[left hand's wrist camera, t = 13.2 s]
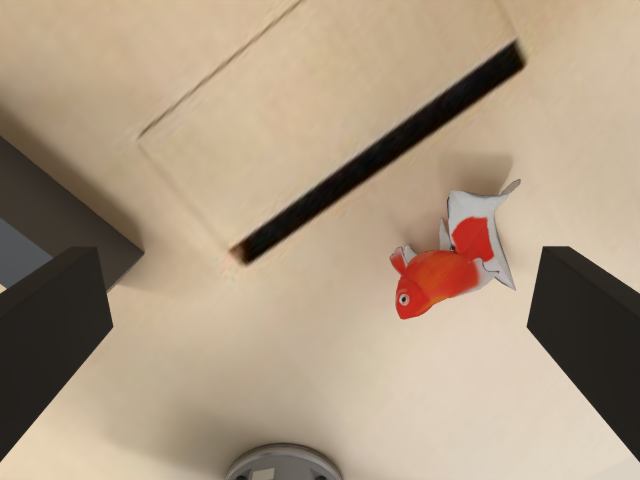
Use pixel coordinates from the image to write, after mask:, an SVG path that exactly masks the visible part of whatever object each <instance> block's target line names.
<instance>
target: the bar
mask: <svg viewBox="0 0 640 480" xmlns="http://www.w3.org/2000/svg"><path fill="white" fill-rule="evenodd" d="M71 246H97V249H98V254H99V259H100V264H101V268H102V273H103V278H104V283H105V288H106V293H108V292H109V291H110V290H111V289H112V288H113V287H114V286H115V285H116V284H117V283H118V282H119V281H120V280H121V279H122V278H123V277H124V275H125V274H126V273H127V272H128V271H129V270H130V269H131V268H132V267H133V266H134V265H135V264H136V263H137V262H138V260H139V259H140V258H141V257H142V256H143V255H144V252H142V251H141V250H140V249H139V248H137V247H136V246H135V245H134V244H133V243H131V242H130V241H129V240H128V239H126V238H125V237H124V236H123V235H121V234H120V233H119V232H118V231H116V230H115V229H114V228H113V227H112V226H110V225H109V224H108V223H107V222H105V221H104V220H103V219H102V218H100V217H99V216H98V215H97V214H96V213H94V212H93V211H92V210H91V209H89V208H88V207H87V206H86V205H84V204H83V203H82V202H81V201H80V200H78V199H77V198H76V197H75V196H73V195H72V194H71V193H70V192H68V191H67V190H66V189H65V188H64V187H62V186H61V185H60V184H59V183H57V182H56V181H55V180H54V179H52V178H51V177H50V176H49V175H48V174H46V173H45V172H44V171H43V170H41V169H40V168H39V167H38V166H36V165H35V164H34V163H33V162H32V161H30V160H29V159H28V158H27V157H25V156H24V155H23V154H22V153H20V152H19V151H18V150H17V149H16V148H14V147H13V146H12V145H11V144H9V143H8V142H7V141H6V140H4V139H3V138H2V137H1V136H0V284H1V285H3V286H4V287H5V288H7V289H8V288H9V287H11V286H12V285H14V284H15V283H17V282H18V281H20V280H21V279H23V278H24V277H26V276H27V275H29V274H30V273H32V272H33V271H35V270H36V269H38V268H39V267H41V266H42V265H44V264H45V263H47V262H48V261H50V260H51V259H53V258H54V257H56V256H57V255H59V254H60V253H62V252H63V251H65V250H66V249H68V248H69V247H71Z"/></svg>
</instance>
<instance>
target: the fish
mask: <svg viewBox="0 0 640 480" xmlns="http://www.w3.org/2000/svg"><path fill="white" fill-rule="evenodd" d="M520 181H521V180H520V179H518V180H516V181H514V182H512V183H511V184H510V185H509V186H508V187H507V188H506V189H504V190H503V191H502V193H501V195H497V196H488V195H477V194H473V193H468V192H462V191H455V190H451V192H450V194H449V197H448V200H447V208H448V222H449V233H450V237H449V235H448V233H447V230H446V228H445V225H444V222H443V219H441V220H440V231H439V239H440V247H439V250H431V251H427V252H424V253H421V254H419V255H418V254H417V253H416V252H415V251H414V250H413V249H412V248H411V247H410V246H409V245H407V246H406V247H405V254H404V255H403V249H402V247H399V248H397V249H396V250H395V252H394V253H393V254H392V255H391V256H390V261H391V263H392V265H393V267H394V268H395V269H396V270H397V271H398V272H399V274H400V275H401V278H400V280H399V282H398V287H397V291H396V299H395V301H396V310H397V312H398V315H399V317H400V318H401V319H403V320H404V319H408V318H412V317H417V316H420V315H422V314H424V313H425V312H427V311H428V310H429V309H430V308H431V307H432V306H433V305H434V304H436V303H438V302H440V301H442V300H445V299H447V298H452V297H456V296H460V295H464V294H467V293H470V292H473V291H476V290H479V289H481V288H482V287H483V286H485V285H486V284H488V283H489V282H490V281H491V280H492V279H493V278H494V277H495V278H496V279H497V280H498V281H500V282H501V283H503V284H504V285H506V286H508V287H510V288H512V289H513V290H515V291H516V288H515V285H514V282H513V279H512V275H511V272H510V269H509V266H508V263H507V260H506V257H505V255H504V252H503V249H502V246H501V243H500V240H499V236H498V233H497V229H496V226H495V219H494V211H495V210H496V209H497V208H498V207H499V206H500V204H501V203H502V202H503V201H504V200H505V199H506V198H507V197H508V196H509V195H510V194H511V192H512V191H513V190H514V189H515V188H516V187H517V186H518V185H519V184H520ZM450 239H451V240H450ZM451 245H452V250H454V251H450V250H451Z"/></svg>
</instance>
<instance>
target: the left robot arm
mask: <svg viewBox="0 0 640 480" xmlns="http://www.w3.org/2000/svg"><path fill="white" fill-rule="evenodd" d="M112 328H113V323H112V318H111V313H110V308H109V303H108V298H107V293H106V288H105V283H104V278H103V273H102V268H101V264H100V259H99V254H98V249H97V246H71V247H69V248H68V249H66V250H65V251H63V252H62V253H60V254H59V255H57V256H56V257H54V258H53V259H51V260H50V261H48V262H47V263H45V264H44V265H42V266H41V267H39V268H38V269H36V270H35V271H33V272H32V273H30V274H29V275H27V276H26V277H24V278H23V279H21V280H20V281H18V282H17V283H15V284H14V285H12V286H11V287H9V288H8V289H6V290H5V291H3V292H2V293H0V462H1V461H2V460H3V458H4V457H5V456H6V455H7V454H8V452H9V451H10V450H11V449H12V448H13V446H14V445H15V444H16V443H17V442H18V441H19V439H20V438H21V437H22V436H23V435H24V433H25V432H26V431H27V430H28V429H29V427H30V426H31V425H32V424H33V423H34V421H35V420H36V419H37V418H38V417H39V415H40V414H41V413H42V412H43V411H44V409H45V408H46V407H47V406H48V405H49V403H50V402H51V401H52V400H53V399H54V397H55V396H56V395H57V394H58V393H59V391H60V390H61V389H62V388H63V387H64V386H65V384H66V383H67V382H68V381H69V380H70V378H71V377H72V376H73V375H74V374H75V372H76V371H77V370H78V369H79V368H80V366H81V365H82V364H83V363H84V362H85V360H86V359H87V358H88V357H89V356H90V354H91V353H92V352H93V351H94V350H95V348H96V347H97V346H98V345H99V344H100V342H101V341H102V340H103V339H104V338H105V336H106V335H107V334H108V333H109V332H110V331H111V329H112ZM527 328H528V329H529V331H530V332H531V333H532V334H533V335H534V337H535V338H536V339H537V340H538V341H539V342H540V344H541V345H542V346H543V347H544V348H545V350H546V351H547V352H548V353H549V354H550V356H551V357H552V358H553V359H554V360H555V362H556V363H557V364H558V365H559V366H560V368H561V369H562V370H563V371H564V372H565V374H566V375H567V376H568V377H569V378H570V380H571V381H572V382H573V383H574V384H575V386H576V387H577V388H578V389H579V390H580V391H581V393H582V394H583V395H584V396H585V397H586V399H587V400H588V401H589V402H590V403H591V405H592V406H593V407H594V408H595V409H596V411H597V412H598V413H599V414H600V415H601V417H602V418H603V419H604V420H605V421H606V423H607V424H608V425H609V426H610V427H611V429H612V430H613V431H614V432H615V433H616V435H617V436H618V437H619V438H620V439H621V441H622V442H623V443H624V444H625V445H626V446H627V448H628V449H629V450H630V451H631V452H632V454H633V455H634V456H635V457H636V458H637V460H638V461H639V462H640V293H638V292H637V291H635V290H634V289H632V288H631V287H629V286H628V285H626V284H625V283H623V282H622V281H620V280H619V279H617V278H616V277H614V276H613V275H611V274H610V273H608V272H607V271H605V270H604V269H602V268H601V267H599V266H598V265H596V264H595V263H593V262H592V261H590V260H589V259H587V258H586V257H584V256H583V255H581V254H580V253H578V252H577V251H575V250H574V249H572V248H571V247H569V246H543V249H542V254H541V259H540V264H539V268H538V273H537V278H536V283H535V288H534V293H533V298H532V303H531V308H530V313H529V318H528V323H527ZM225 480H342V477H341V475H340V473H339V471H338V469H337V468H336V467H335V465H334V464H333V463H332V462H331V461H330V460H328V459H327V458H326V457H325V456H323V455H322V454H320V453H318V452H316V451H314V450H312V449H309V448H306V447H302V446H298V445H291V444H274V445H267V446H263V447H259V448H256V449H253V450H251V451H249V452H247V453H245V454H244V455H242V456H241V457H240V458H238V459H237V460H236V461H235V462H234V463H233V464H232V466H231V467H230V469H229V470H228V472H227V475H226V478H225Z"/></svg>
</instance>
